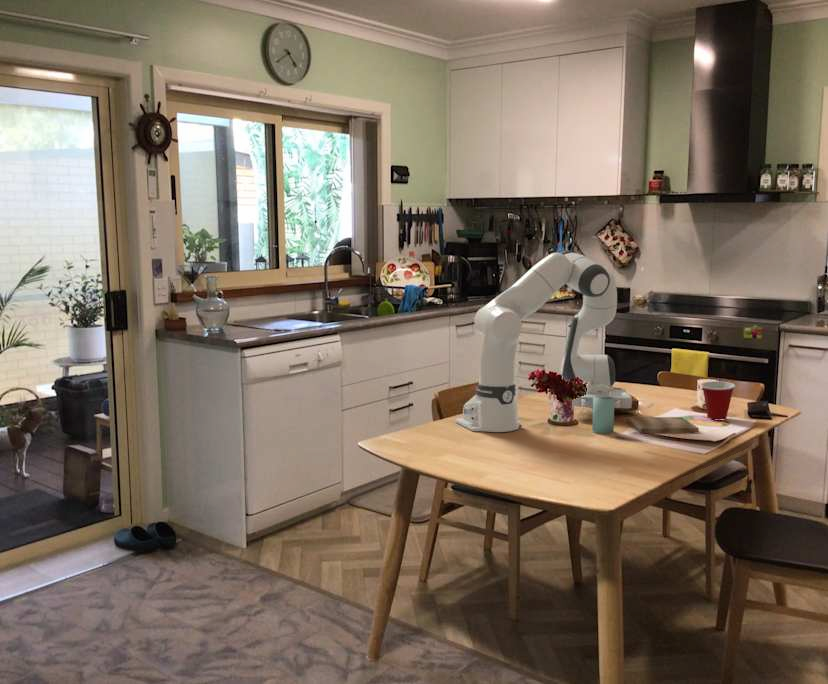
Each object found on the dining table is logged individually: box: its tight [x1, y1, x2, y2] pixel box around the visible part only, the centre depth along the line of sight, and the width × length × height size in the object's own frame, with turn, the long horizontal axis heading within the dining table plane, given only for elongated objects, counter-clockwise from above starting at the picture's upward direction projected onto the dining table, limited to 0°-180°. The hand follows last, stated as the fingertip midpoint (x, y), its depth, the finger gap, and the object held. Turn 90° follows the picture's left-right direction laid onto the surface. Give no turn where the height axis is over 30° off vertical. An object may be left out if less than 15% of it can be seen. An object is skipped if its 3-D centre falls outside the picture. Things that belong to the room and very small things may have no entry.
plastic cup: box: [700, 380, 736, 421], centre depth 269 cm, size 11×11×12 cm
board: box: [626, 416, 700, 434], centre depth 258 cm, size 18×16×2 cm
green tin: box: [592, 395, 615, 435], centre depth 251 cm, size 6×6×11 cm
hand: (601, 405), depth 261 cm, fingers open, 8 cm apart
